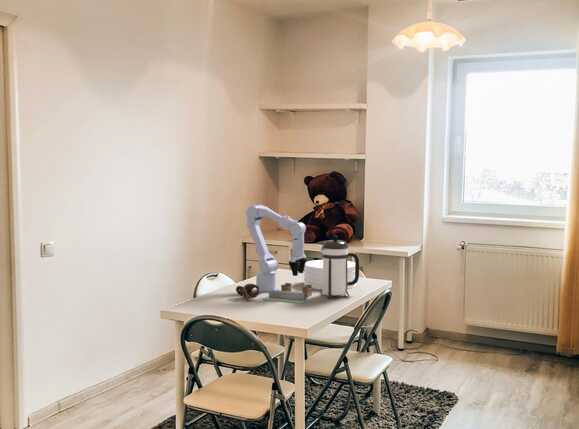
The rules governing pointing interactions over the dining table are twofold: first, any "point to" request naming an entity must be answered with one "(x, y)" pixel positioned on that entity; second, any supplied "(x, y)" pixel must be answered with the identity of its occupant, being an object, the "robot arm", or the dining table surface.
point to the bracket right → (307, 290)
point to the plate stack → (316, 274)
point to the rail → (287, 295)
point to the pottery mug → (248, 291)
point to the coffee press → (337, 267)
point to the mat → (283, 300)
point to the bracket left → (286, 287)
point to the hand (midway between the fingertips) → (298, 274)
